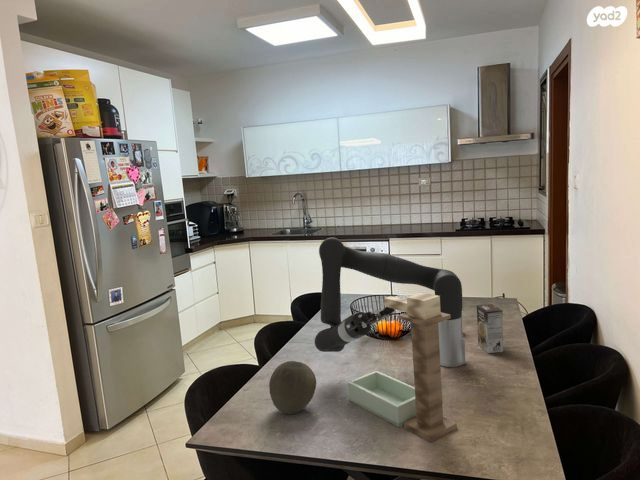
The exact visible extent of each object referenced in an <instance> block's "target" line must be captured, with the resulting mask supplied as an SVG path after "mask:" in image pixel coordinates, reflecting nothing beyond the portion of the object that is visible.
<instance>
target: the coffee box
mask: <svg viewBox="0 0 640 480" xmlns="http://www.w3.org/2000/svg"><path fill="white" fill-rule="evenodd" d="M503 313H504V312H503V310H502V309H501V308H499V307H498V306H496V305H494V304H493V303H489V304H488V303H487V304H486V303H484V304H478V305H477V304H476V318H477V319H476V320H477V322H476V323H477V325H476V326H477V342H478V343H477V344H478V346H479V347H480V348H481V349H482V350H484V351H485V352H486V353H487V354H492V353H502V352H504V322H503V315H504V314H503Z"/></svg>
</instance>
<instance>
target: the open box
mask: <svg viewBox="0 0 640 480" xmlns="http://www.w3.org/2000/svg"><path fill="white" fill-rule="evenodd" d="M347 390H348V391H347V392H348V400H349V401H350V402H351V403H353V404H355V405H357V406H358V407H360V408H363V409H364V410H366V411H368V412H370V413H371V414H374V415H376V416H377V417H379V418H381V419H382V420H385V421H386V422H388V423H390V424H392V425H393V426H396V428H397V427H398V428H400V427H402V426H404V422H405V421H407V420H409V419H411V418H413V417H415V416H416V401H415V386H413V385H410V384H408V383H406V382H404V381H402V380H399V379H397V378H394V377H393V376H390V375H388V374H385V373H384V372H381V371H378V370H375V371H373V372H369V373H367V374H365V375H362V376H359V377H357V378H354V379H352V380H350V381H347Z"/></svg>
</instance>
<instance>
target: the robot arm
mask: <svg viewBox="0 0 640 480" xmlns="http://www.w3.org/2000/svg"><path fill="white" fill-rule="evenodd" d="M318 254H319V257H320V262H321V268H322V269H321V270H322V283H321V284H322V285H321V294H320V295H321V297H320V298H321V299H320V322H321V323H322V324H324V325H327V326H329V327H328V328H325V329H321V330H320V331H318V332H317V334H316V335H315V337H314V346H315V348H316V349H317V350H318V351H320V352H322V353H333V352H334V353H339V352H341V351H343V350H344V348H345V347H346V345H348V344H349V343H351V342H355V341H357V340H359V339H361V338H363V337H365V336H366V335H368V334H369V333H370V332H371V330H372V326H374V325H375V324H377V323H379V322H382V321H383V320H385V319H386V318H388V317H390V316H392V315H393V313H394V312H396V311H395V309H393V308H389V307H383V308H382V309H375V310H373V311H370V310H369V311H367V312H365V313H364V312H361V311H357V312H354V313H352V314H351V315H349V316H348V317H346V318H345V319H343V320H342V316H341V315H342V313H341V311H342V298H341V296H342V293H341V270H342V268H344V269H349V270H354V271H356V272H360V273H362V274H364V275H367V276H370V277H373V278H377V279H379V280H383V281H387V282H390V283H394V284H402V285H406V284H407V285H417V286H421V287H424V288H427V289H429V290H431V291H432V290H433V291H434V295H438V296H440V311H441V312H442V313H446V314H450V315H451V318H450V319H447V320H445V321H442V322H439V323H438V327H439V347H440V366H441V367H442V366H443V367H446V368H455V367H461V366H463V365H466V343H465V342H466V341H465V337H464V336H463V316H462V315H463V313H462V312H463V287H462V282H461V279H460V278H459V277H458V276H457V274H456V273H454V272H453V271H452V270H449V269H445V268H444V269H443V268H438V267H433V266H432V267H431V266H426V265H421V264H419V263H416V262H414V261H411V260H408V259H405V258H401V257H399V256H394V255H391V254H388V253H383V252H374V251H363V250H358V249H354V248H351V247H349V246H346V245H344V243H343V242H342V241H341V240H340V239H338V238H336V237H327V238H325V239H324V240H323V241H322V242H321V243H320V246H319V248H318Z"/></svg>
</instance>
